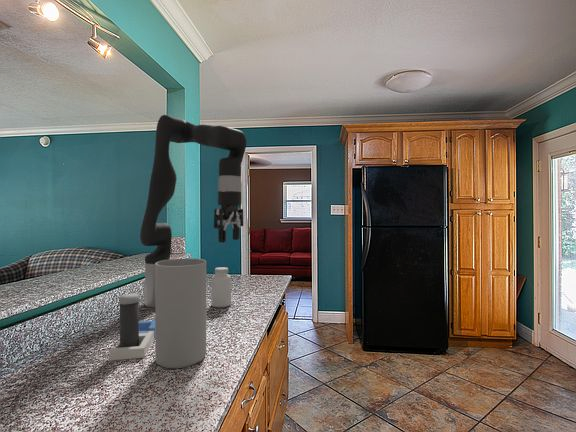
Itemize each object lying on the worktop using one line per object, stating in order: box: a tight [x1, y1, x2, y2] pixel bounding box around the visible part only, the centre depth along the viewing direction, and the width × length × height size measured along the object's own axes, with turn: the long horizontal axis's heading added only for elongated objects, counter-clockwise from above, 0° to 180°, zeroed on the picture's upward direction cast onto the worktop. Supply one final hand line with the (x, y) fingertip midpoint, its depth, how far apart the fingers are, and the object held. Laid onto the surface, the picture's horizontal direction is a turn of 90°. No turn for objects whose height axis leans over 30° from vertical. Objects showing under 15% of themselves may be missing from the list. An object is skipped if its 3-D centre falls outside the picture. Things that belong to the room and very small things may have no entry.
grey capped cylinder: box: [118, 293, 140, 348], centre depth 85 cm, size 5×5×15 cm
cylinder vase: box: [154, 257, 207, 369], centre depth 81 cm, size 12×12×25 cm
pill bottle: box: [210, 266, 232, 308], centre depth 126 cm, size 8×8×15 cm
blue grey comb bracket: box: [108, 319, 155, 362], centre depth 90 cm, size 8×21×3 cm, turn 12°
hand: (229, 241), depth 100 cm, fingers open, 8 cm apart
